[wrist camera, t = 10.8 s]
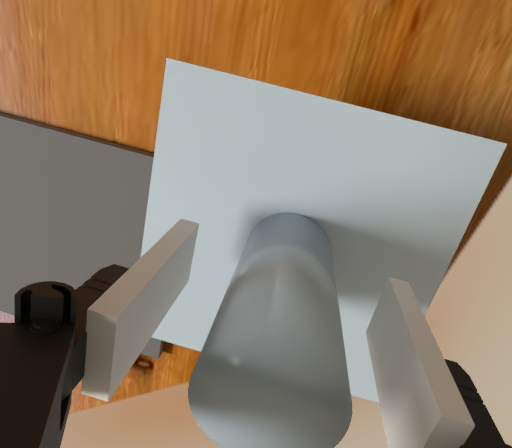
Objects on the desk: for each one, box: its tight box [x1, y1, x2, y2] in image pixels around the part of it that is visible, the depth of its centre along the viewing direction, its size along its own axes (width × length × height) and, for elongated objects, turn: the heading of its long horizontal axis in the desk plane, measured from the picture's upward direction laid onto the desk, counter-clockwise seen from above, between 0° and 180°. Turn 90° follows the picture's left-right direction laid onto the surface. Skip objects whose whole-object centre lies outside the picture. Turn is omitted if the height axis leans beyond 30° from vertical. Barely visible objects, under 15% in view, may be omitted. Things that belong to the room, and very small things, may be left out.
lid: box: [140, 58, 507, 448], centre depth 14 cm, size 14×14×10 cm
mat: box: [0, 112, 164, 359], centre depth 31 cm, size 18×18×1 cm
